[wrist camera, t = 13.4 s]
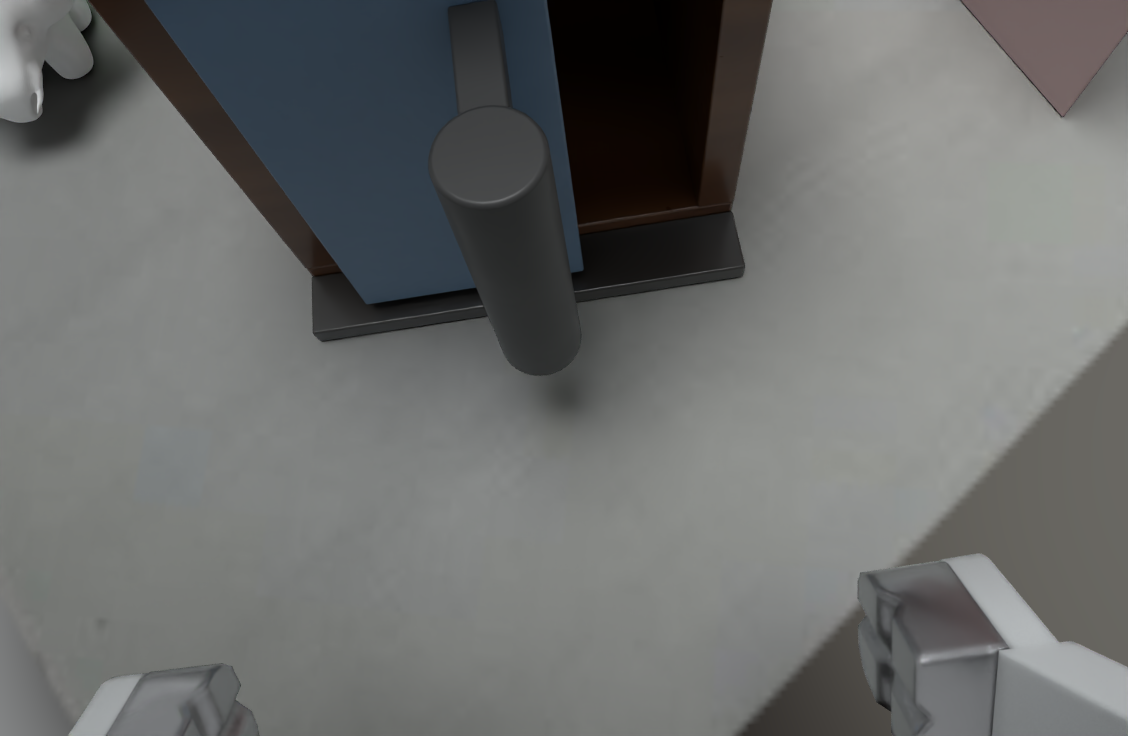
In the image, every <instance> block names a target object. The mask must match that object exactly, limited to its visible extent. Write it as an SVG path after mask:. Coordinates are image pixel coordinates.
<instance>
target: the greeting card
mask: <svg viewBox="0 0 1128 736" xmlns="http://www.w3.org/2000/svg"><path fill="white" fill-rule="evenodd" d="M961 1H962V2H963V3H964V4H965V5H966V6H967V8H968V9H969V10H970V11H971V12H972V13H973V14H974V16H975V17H976V18H977V19H978V20H979V21H980V23H981V24H982V25H983V26H984V27H985V28H986V29H987V31H988V32H989V33H990V34H991V35H992V36H993V37H994V39H995V40H996V41H997V42H998V43H999V44H1000V46H1001V47H1002V48H1003V49H1004V50H1005V51H1006V52H1007V54H1008V55H1009V56H1010V57H1011V58H1012V59H1013V60H1014V62H1015V63H1016V64H1017V65H1018V66H1019V67H1020V69H1021V70H1022V71H1023V72H1024V73H1025V74H1026V75H1027V77H1028V78H1029V79H1030V80H1031V81H1032V82H1033V83H1034V85H1035V86H1036V87H1037V88H1038V89H1039V90H1040V92H1041V93H1042V94H1043V95H1044V96H1045V97H1046V98H1047V100H1048V101H1049V102H1050V103H1051V104H1052V105H1053V106H1054V108H1055V109H1056V110H1057V111H1058V112H1059V113H1060V114H1061V116H1062V117H1064V116H1065V114H1066V113H1067V112H1068V110H1069V109H1070V108H1071V106H1072V105H1073V104H1074V102H1075V101H1076V100H1077V98H1078V97H1079V96H1080V94H1081V93H1082V92H1083V90H1084V89H1085V88H1086V86H1087V85H1088V84H1089V82H1090V81H1091V80H1092V78H1093V77H1094V76H1095V74H1096V73H1097V72H1098V70H1099V69H1100V68H1101V66H1102V65H1103V64H1104V62H1105V61H1106V60H1107V58H1108V57H1109V56H1110V54H1111V53H1112V52H1113V50H1114V49H1115V48H1116V46H1117V45H1118V44H1119V42H1120V41H1121V40H1122V38H1123V37H1124V36H1125V34H1126V33H1127V32H1128V0H961Z"/></svg>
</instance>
